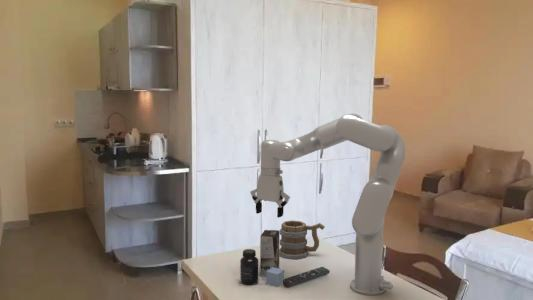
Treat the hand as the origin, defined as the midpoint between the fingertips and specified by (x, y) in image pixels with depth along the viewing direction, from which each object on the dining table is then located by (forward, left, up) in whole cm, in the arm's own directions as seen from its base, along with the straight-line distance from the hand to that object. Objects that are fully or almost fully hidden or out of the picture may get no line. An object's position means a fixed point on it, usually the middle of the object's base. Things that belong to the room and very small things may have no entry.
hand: (269, 214), depth 172 cm
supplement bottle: (+2, +12, -24) cm, 27 cm away
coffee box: (0, 0, -24) cm, 24 cm away
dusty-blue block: (-7, +8, -24) cm, 26 cm away
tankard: (-2, -24, -24) cm, 34 cm away
